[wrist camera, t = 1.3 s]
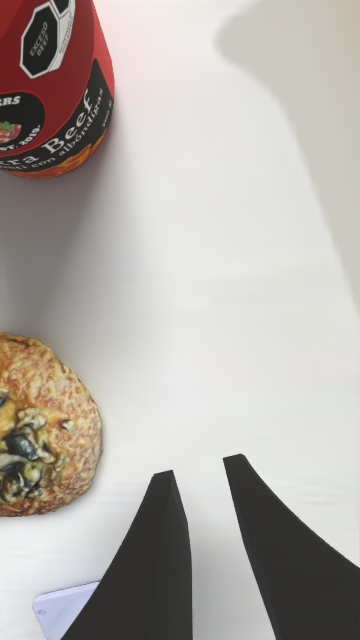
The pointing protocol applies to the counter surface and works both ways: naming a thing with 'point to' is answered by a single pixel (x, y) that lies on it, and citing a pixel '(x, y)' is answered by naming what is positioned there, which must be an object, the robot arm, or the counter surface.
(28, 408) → the mushroom cheese tart
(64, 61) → the canned food
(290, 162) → the counter surface
